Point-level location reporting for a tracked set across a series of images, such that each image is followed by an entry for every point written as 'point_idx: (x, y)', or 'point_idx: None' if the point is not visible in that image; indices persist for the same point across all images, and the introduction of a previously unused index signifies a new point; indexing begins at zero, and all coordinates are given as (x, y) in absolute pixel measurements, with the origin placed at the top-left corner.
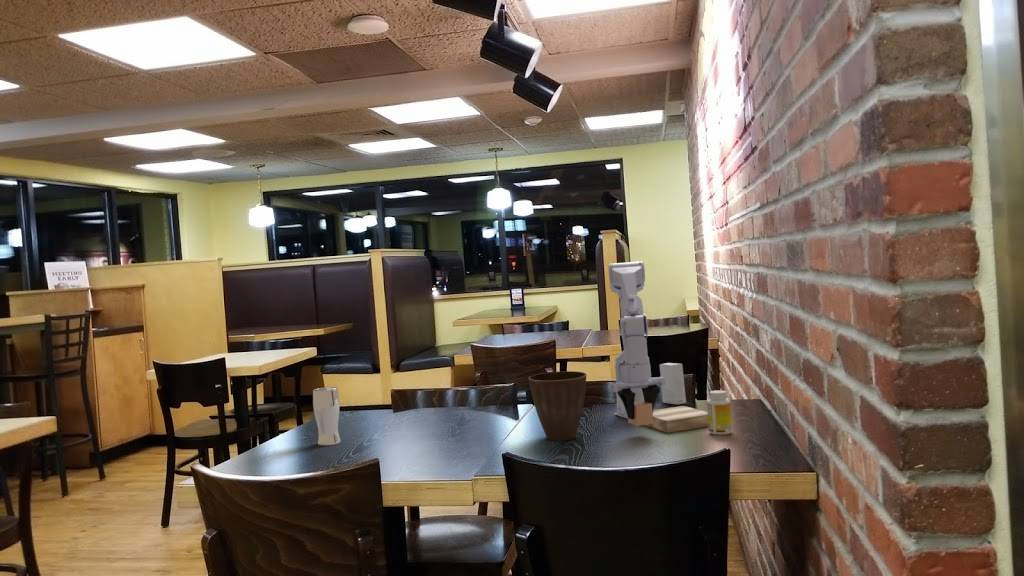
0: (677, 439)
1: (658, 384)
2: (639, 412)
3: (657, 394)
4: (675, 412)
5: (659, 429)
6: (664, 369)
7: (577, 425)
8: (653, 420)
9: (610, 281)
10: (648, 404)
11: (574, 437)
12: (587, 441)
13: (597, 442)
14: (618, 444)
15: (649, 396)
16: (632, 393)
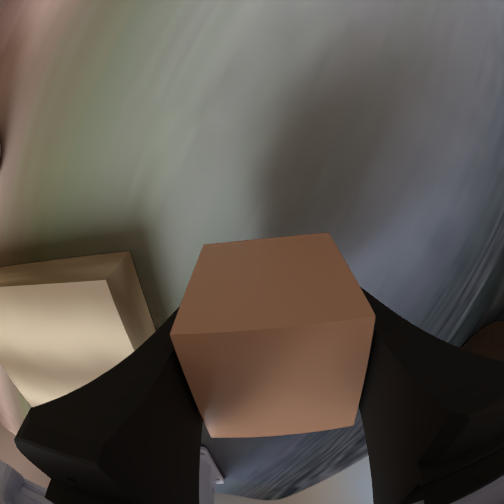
0: (136, 98)
1: (35, 493)
2: (322, 280)
3: (70, 397)
4: (60, 383)
5: (149, 314)
6: None
7: (491, 356)
8: None
9: None
10: (213, 328)
11: (472, 337)
12: (478, 278)
13: (469, 246)
14: (435, 161)
15: (164, 421)
16: (498, 397)
